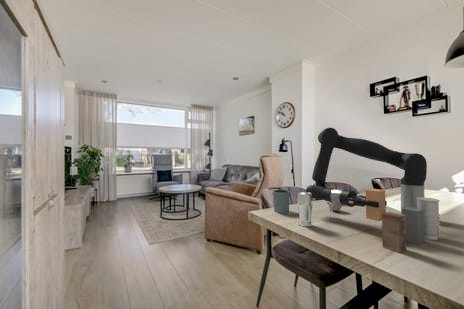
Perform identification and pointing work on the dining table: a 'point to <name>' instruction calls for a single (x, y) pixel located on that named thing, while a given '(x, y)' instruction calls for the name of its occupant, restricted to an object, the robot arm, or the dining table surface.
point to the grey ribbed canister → (430, 216)
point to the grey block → (414, 224)
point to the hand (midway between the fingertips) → (382, 204)
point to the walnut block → (394, 231)
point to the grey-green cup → (281, 200)
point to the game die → (334, 206)
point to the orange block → (375, 196)
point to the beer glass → (305, 208)
